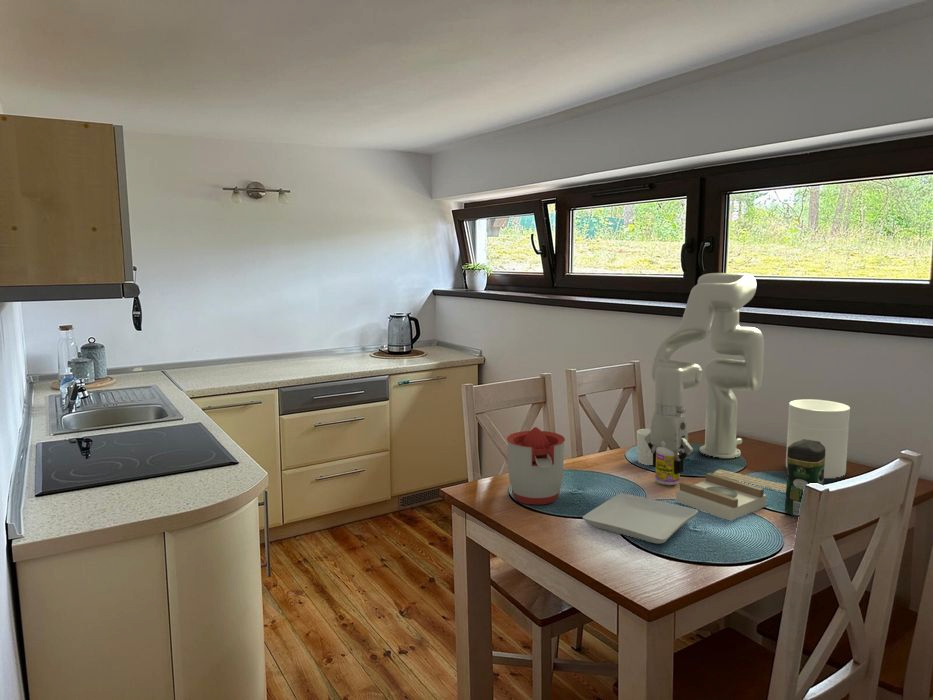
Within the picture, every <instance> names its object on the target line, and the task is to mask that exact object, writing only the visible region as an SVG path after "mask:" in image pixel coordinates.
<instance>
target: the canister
mask: <svg viewBox="0 0 933 700" xmlns="http://www.w3.org/2000/svg"><path fill="white" fill-rule="evenodd" d="M850 413H851V407H850V406H849V405H847V404H845V403H841V402H837V401H831V400H823V399H808V398H807V399H795V400H791V401H790V402H788V416H787V417H788V420H787V432H786V433H787V434H786V435H787V437H786V453H785V455H786V456H785V457H786V458H785V467H786V469H787V453H788V447H789V446H790V445H791V444H793V443H795V442H797V441H801V440H803V439H807V440H813V441H819V442H820V443H821V444H822V445H823V446H824V447H825V466H824V479H837V478H836V477H839V478H842V477H844V476H845V475H846V472H847V456H848V447H849V446H848V445H849V429H850V425H849V423H850V416H851V415H850ZM843 475H844V476H843ZM841 476H842V477H841Z"/></svg>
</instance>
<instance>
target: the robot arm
mask: <svg viewBox="0 0 933 700" xmlns="http://www.w3.org/2000/svg"><path fill="white" fill-rule="evenodd" d="M756 290H757V280H756V278H755V277H754V276H753V275H752V274H750V273H745V272H744V273H742V272H736V273H735V272H732V273H730V272H711V273H705V274H702V275H701V276H699V277H698V279H697V284H696V285H694V286H693V287H692V288H691V290H690V294H689V296H688V299H687V303H686V305H685V309H684V313H683V315H682V318H681V323H680V325H679V327H678V328H677V329H675V330H674V331H673V332H671V333H670V334H669V335H667V337H665V339H664V340H663V341H662V342H661V343H660V344H659V345H658V347H657V350H656V351H655V352H656V353H655V355H654V358H653V360H652V361H653V362H652V365H651V366H652V367H651V370H650V371H651V378H652V381H653V382H654V383H655V384H654V391H655V392H654V411H653V413H652V418H651V423H650V424H651V425H650V429H651V431H650V434H648V435H647V436H646V437H645V440H646V442H647V444H648V446H649V448H650V449H651V453H652V454H653V466H652V467H653V468H656V449H657V447H662V446H664V447H665V448H666V449H669V450H672V451H673V452H674V455H675V457H676V460H675V461H674V473H675V474H679V473H680V474H682V473H683V472H684V462H685V461H684V460H686V458H688V457H689V456H690V455H691V454H692V453H693V452H694V448H693V447H692V446H691V444H690V443H689V431H688V429H689V428H688V424H687V423H688V421H687V417H686V415H685V413H686V411H687V410H686V408H684V404H683V403H684V390H691V389H695V388H697V387H698V386H700V384H702V381H703V379H704V380H705V382H704V383H705V387H706V388H705V389H706V391H705V392H706V405H705V407H706V408H705V432H704V433H705V437H704V445H701V446H700V447H699V452H700V451H701V452H702V453H703V454H702V453H701V452H700V453H701V454H702V455H704V454H706V455H705V456H707V455H709V456H708V457H710V456H713V457H712V458H715V457H719V459H735V457H736V458H738V457H741V455H742V454H741V449H739V448H738V447H737V446H738V445H741V444H742V443H743V438H741V437H737V428H738V427H737V426H738V406H739V404H738V399H737V397H736V396H737V395H735V393H734V392H733V390H735V391H736V390H737V391H745V392H755V391H757V390H759V389H760V388H761V386H762V384H763V383H762V382H763V376H764V356H765V355H764V354H765V352H764V350H765V339H764V334H763V333H762V331H761V330H760V329H758V328H756V327H753V326H741V325H740V309H742V308H743V307H744V306H745V305H747V304H748V303H749V302H750V301H752V299H753V298H754V296H755V294H756V292H757V291H756ZM709 336H710V338H709V342H710V343H709V344H710V345H709V346H710V349H711V351H712V352H713V353H714V354H718V355H722V356H723V355H724V356H731V357H741V358H742V357H743V358H744V360H739V359H731V358H713V359H710V360H709V361H708V362H706V364H705V366H704V370H703V368H702V366H701V365H699V364H698V363H696V362H689V361H681V360H671V358H672V356H673V355H674V353H675V352H676V351H679V349H681V348H683V347H686V346H689V345H691V344H694V343H697V342H699V341H702V340H705V339H707V338H708V337H709ZM662 441H664V442H665V444H666V445H662V444H661V442H662ZM678 451H679V452H678ZM679 453H680V455H679Z"/></svg>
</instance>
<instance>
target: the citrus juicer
mask: <svg viewBox="0 0 933 700" xmlns="http://www.w3.org/2000/svg"><path fill="white" fill-rule="evenodd" d="M565 439H566V438H565V436H563V435H562V434H559V433H557V432H554V431H553V432H552V431H547V430H546V431H545V430H541V429H540V428H538V427H537V426H536V427H533V428H532V429H531V430H524V431H517V432H513V433H510V434H509V435H508V436H507V438H506V441H507V471H508V479H509V484H510V487H511V491H512V494H513V497H514V498H515V500H517V501H518V502H520V503H523V504H525V505H547V504H551V502H552V503H554V502H555V501H556V500H557V499H558V498H559V495H560V492H561V489H562V484H563V480H564V473H565V472H564V467H565V466H564V465H565V464H564V461H565V460H564V459H565V458H564V457H565V455H564V454H565V453H564V452H565V449H564V448H565V447H564V443H565V441H566V440H565ZM553 501H554V502H553Z"/></svg>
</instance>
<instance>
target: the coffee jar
mask: <svg viewBox="0 0 933 700" xmlns="http://www.w3.org/2000/svg"><path fill="white" fill-rule="evenodd" d="M824 466H825V447H824V446H823V445H822V444H821V443H820V442H819V441H813V440H807V439H803V440H801V441H797V442H795V443H793V444H791V445H790V446H789V447H788V453H787V468H786V483H785V485H786V494H785V500H784V511H785V513H786V514H788V515H790V516H792V517H794V518H796V519H799V518H798V514H799V508H800V503H801V499H802V495H803V489H804V486H805V485H806V484H809V483H819V484H823V485H825V484H824V482H825V481H824V480H825V478H824Z"/></svg>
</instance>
